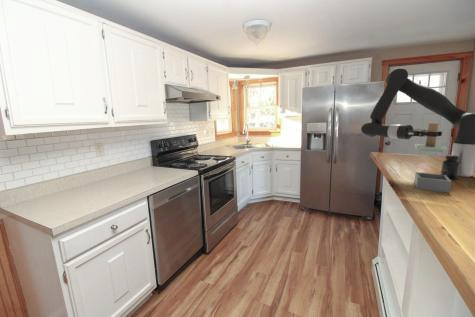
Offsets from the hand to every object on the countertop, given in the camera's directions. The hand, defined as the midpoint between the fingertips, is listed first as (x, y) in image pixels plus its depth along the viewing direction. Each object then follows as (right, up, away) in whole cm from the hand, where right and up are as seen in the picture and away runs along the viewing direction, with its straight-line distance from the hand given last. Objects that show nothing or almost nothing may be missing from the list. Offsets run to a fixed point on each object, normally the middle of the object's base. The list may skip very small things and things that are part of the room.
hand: (439, 134), depth 108 cm
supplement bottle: (+15, -22, +12) cm, 29 cm away
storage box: (-8, -25, -5) cm, 27 cm away
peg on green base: (-1, -7, +4) cm, 8 cm away
